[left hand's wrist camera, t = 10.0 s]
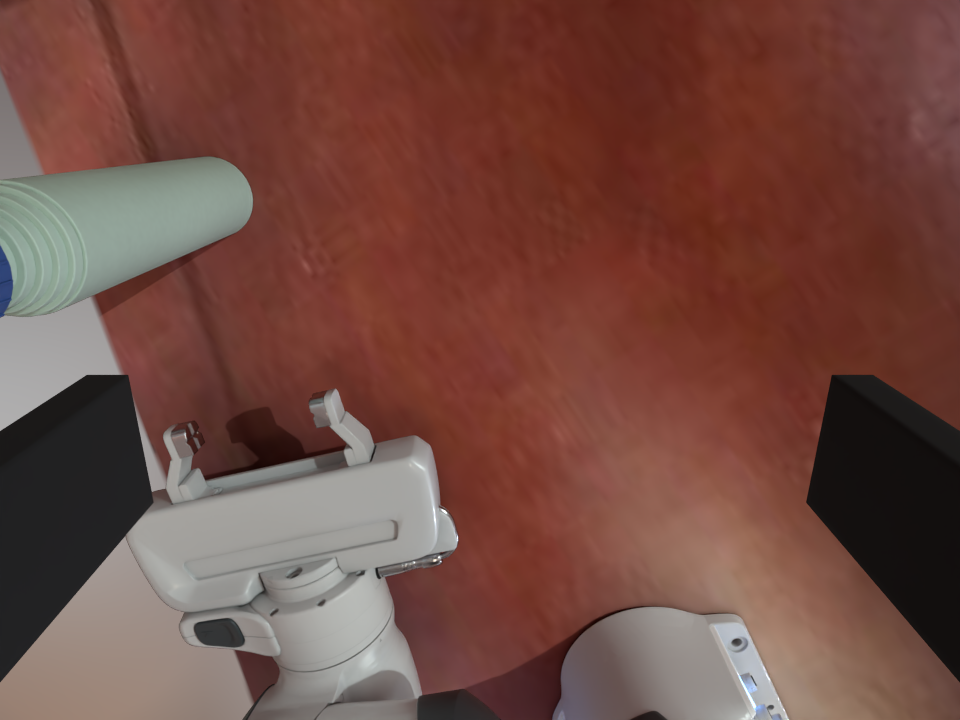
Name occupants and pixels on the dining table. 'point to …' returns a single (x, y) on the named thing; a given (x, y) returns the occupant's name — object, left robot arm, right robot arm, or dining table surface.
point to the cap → (5, 283)
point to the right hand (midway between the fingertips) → (249, 410)
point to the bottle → (112, 225)
